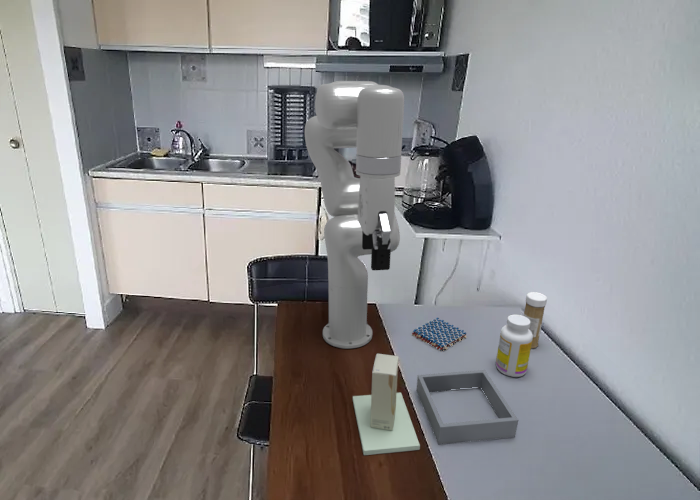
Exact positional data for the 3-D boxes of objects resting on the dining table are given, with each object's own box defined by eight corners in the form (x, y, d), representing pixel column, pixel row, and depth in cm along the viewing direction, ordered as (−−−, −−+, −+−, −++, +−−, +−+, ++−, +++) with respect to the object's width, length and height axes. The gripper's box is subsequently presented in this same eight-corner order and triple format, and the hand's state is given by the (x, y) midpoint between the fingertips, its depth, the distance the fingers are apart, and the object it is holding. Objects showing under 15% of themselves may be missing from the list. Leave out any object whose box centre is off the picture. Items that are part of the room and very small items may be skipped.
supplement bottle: (527, 364, 101) (536, 316, 96) (525, 381, 95) (534, 330, 91) (497, 357, 104) (505, 309, 99) (493, 373, 98) (501, 323, 93)
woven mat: (409, 336, 112) (409, 329, 112) (435, 322, 119) (436, 315, 118) (441, 354, 105) (442, 347, 104) (468, 339, 112) (469, 332, 111)
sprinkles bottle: (541, 345, 108) (551, 296, 103) (530, 351, 106) (540, 302, 101) (525, 336, 112) (533, 289, 107) (514, 342, 109) (522, 294, 104)
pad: (352, 400, 89) (352, 396, 89) (400, 396, 91) (400, 392, 90) (363, 455, 76) (363, 450, 76) (419, 449, 78) (419, 445, 77)
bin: (416, 390, 92) (417, 375, 91) (482, 385, 94) (484, 369, 93) (438, 444, 79) (440, 427, 77) (515, 437, 81) (518, 420, 79)
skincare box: (393, 431, 80) (396, 376, 76) (369, 428, 81) (371, 373, 76) (396, 407, 86) (399, 355, 82) (374, 404, 87) (376, 352, 82)
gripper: (349, 156, 82) (348, 242, 88) (364, 176, 66) (362, 280, 72) (389, 156, 83) (385, 241, 89) (413, 175, 67) (406, 277, 73)
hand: (375, 258), depth 80 cm, fingers open, 9 cm apart
